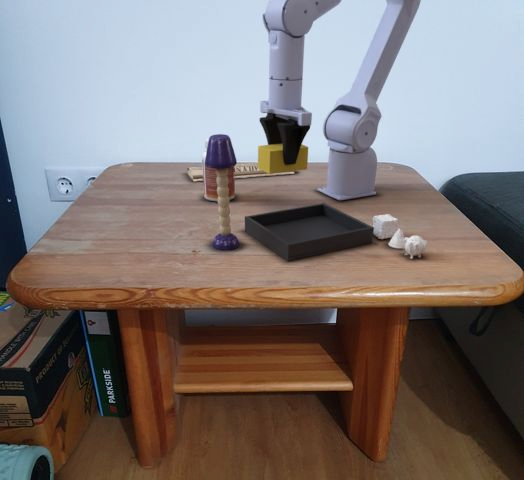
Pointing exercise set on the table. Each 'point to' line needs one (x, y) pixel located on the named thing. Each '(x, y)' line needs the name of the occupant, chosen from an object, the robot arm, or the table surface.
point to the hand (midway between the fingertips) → (282, 161)
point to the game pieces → (397, 235)
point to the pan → (308, 231)
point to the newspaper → (239, 171)
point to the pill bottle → (211, 177)
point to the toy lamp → (222, 186)
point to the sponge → (280, 159)
